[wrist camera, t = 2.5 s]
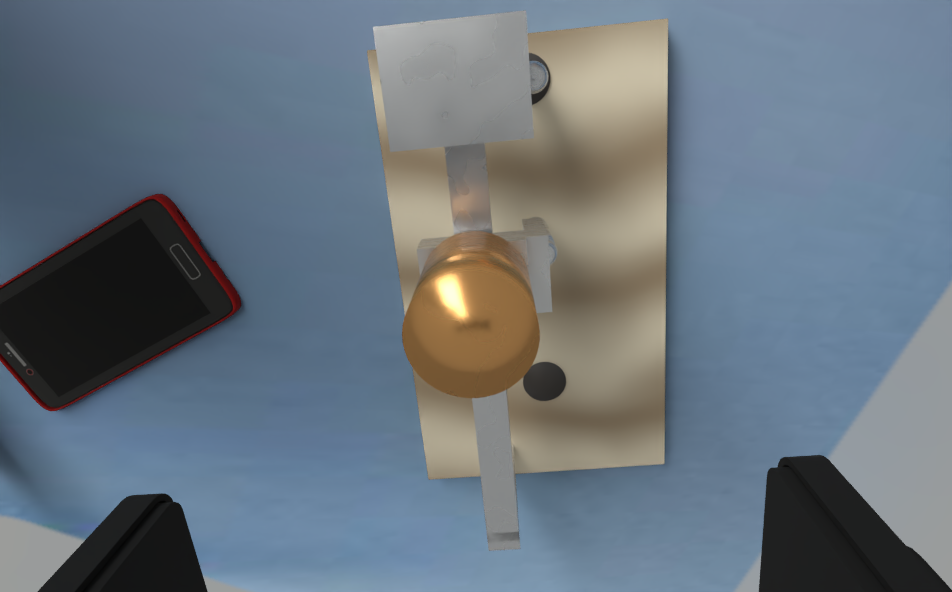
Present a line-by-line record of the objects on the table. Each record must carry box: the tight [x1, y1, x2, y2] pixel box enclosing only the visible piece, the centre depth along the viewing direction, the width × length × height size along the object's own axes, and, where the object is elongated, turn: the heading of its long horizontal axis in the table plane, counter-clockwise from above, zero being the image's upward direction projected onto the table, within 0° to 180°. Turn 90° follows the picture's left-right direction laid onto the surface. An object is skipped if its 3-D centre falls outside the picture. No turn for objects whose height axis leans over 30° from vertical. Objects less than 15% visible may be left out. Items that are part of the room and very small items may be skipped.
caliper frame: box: [373, 11, 548, 551], centre depth 27 cm, size 23×6×9 cm, turn 5°
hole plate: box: [367, 19, 668, 480], centre depth 32 cm, size 24×14×2 cm, turn 5°
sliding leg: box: [402, 217, 558, 398], centre depth 24 cm, size 4×5×14 cm
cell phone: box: [0, 194, 241, 411], centre depth 34 cm, size 8×15×1 cm, turn 119°
